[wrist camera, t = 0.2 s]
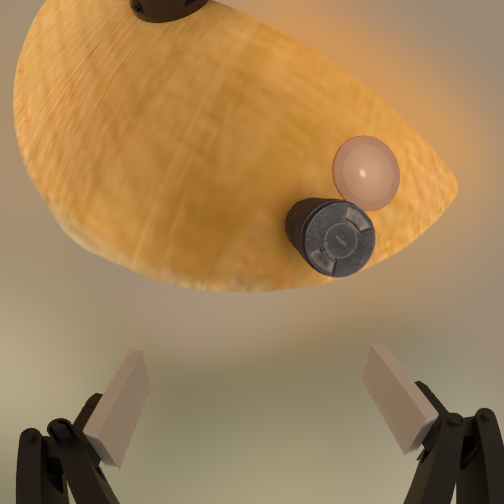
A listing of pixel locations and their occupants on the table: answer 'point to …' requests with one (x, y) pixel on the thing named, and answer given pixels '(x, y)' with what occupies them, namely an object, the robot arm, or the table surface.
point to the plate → (366, 173)
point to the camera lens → (331, 235)
